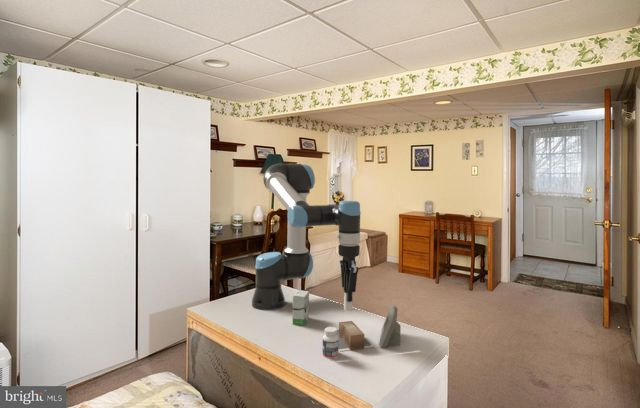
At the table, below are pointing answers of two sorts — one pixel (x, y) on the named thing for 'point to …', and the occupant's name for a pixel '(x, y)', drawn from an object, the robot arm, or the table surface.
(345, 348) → the mat
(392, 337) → the digital clock
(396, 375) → the table surface
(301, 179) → the robot arm
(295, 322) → the ink box
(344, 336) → the block
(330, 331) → the pill bottle
